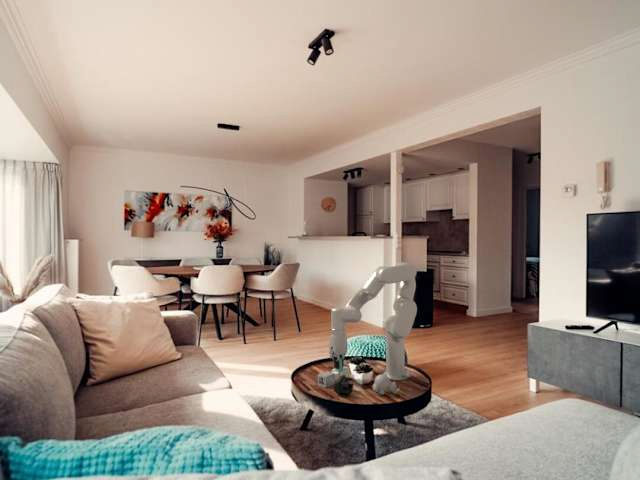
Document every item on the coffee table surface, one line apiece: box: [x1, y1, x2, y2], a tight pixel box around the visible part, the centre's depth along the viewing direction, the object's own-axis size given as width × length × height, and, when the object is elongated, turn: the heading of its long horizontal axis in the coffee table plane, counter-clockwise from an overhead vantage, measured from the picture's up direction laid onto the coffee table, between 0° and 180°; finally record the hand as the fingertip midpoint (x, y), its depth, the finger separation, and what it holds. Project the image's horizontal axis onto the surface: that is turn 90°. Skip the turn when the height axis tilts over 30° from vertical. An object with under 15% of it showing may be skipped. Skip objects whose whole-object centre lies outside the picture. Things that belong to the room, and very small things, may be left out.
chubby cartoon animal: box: [372, 373, 400, 396], centre depth 181 cm, size 7×12×8 cm, turn 83°
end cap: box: [332, 375, 354, 398], centre depth 183 cm, size 10×7×7 cm
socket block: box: [331, 366, 351, 381], centre depth 201 cm, size 7×6×6 cm
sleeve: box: [317, 370, 336, 389], centre depth 193 cm, size 5×7×5 cm
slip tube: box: [323, 358, 342, 382], centre depth 197 cm, size 3×12×9 cm, turn 137°
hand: (338, 367), depth 200 cm, fingers closed on slip tube, 2 cm apart
